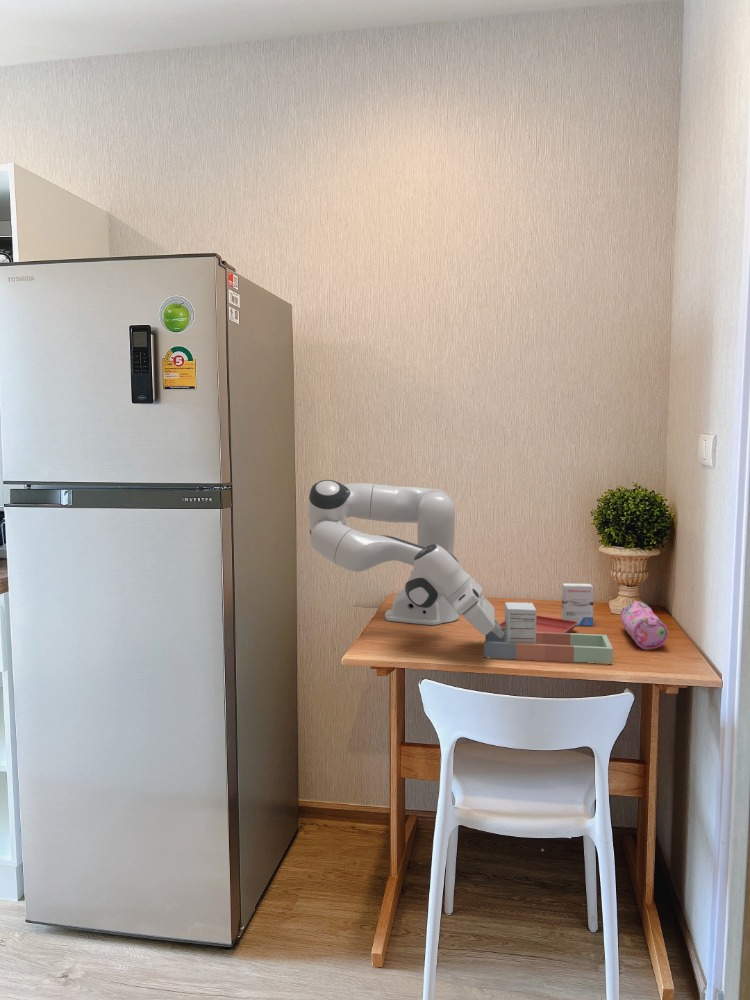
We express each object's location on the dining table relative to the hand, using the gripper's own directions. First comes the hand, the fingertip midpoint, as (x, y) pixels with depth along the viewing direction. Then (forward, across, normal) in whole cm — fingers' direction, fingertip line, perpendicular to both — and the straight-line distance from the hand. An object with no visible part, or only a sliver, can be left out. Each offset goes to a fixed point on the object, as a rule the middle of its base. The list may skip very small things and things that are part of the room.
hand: (502, 635), depth 192 cm
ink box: (+19, -32, +13) cm, 40 cm away
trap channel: (+11, -1, +4) cm, 12 cm away
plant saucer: (+11, -20, +4) cm, 23 cm away
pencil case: (+30, -18, +24) cm, 42 cm away
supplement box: (+7, 0, 0) cm, 7 cm away
